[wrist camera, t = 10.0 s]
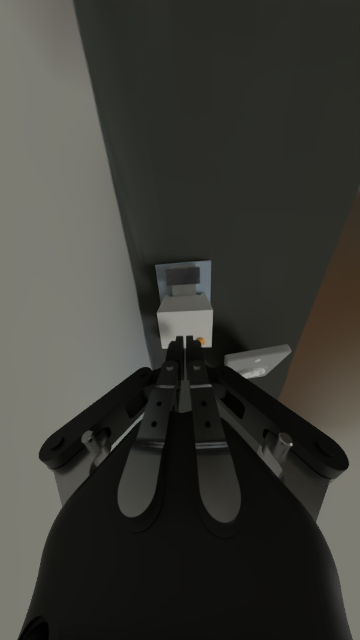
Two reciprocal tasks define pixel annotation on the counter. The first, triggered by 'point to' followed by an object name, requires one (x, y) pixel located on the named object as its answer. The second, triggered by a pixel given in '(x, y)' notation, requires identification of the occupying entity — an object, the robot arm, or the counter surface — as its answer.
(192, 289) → the din rail
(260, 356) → the light switch
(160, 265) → the plate
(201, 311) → the block
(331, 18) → the counter surface
